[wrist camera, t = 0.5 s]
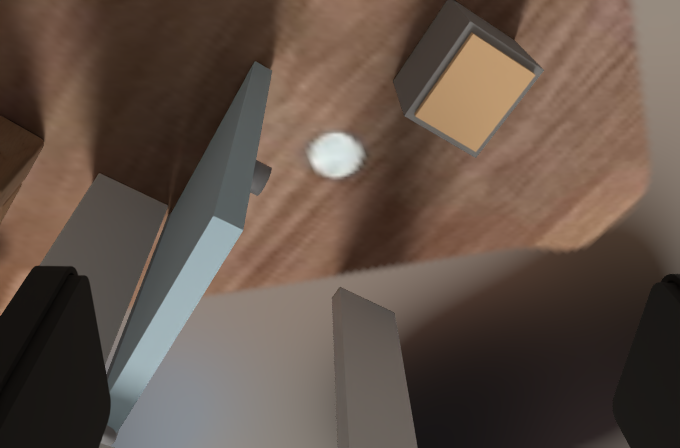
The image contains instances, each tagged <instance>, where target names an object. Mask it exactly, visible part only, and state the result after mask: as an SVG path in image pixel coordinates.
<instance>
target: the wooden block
mask: <svg viewBox="0 0 680 448" xmlns="http://www.w3.org/2000/svg"><path fill="white" fill-rule="evenodd" d="M43 145H44V141H43V140H42V139H41V138H40V137H38V136H36V135H34V134H32V133H31V132H29V131H27V130H25V129H24V128H22V127H20V126H18V125H17V124H15V123H13V122H11V121H10V120H8V119H6V118H4V117H2V116H1V115H0V223H1V221H2V220H3V218H4V216H5V214H6V212H7V211H8V209H9V207H10V205H11V203H12V202H13V200H14V198H15V196H16V194H17V193H18V191H19V189H20V187H21V185H22V182H23V181H24V179H25V178H26V177H27V175H28V173H29V171H30V169H31V168H32V166H33V164H34V162H35V160H36V159H37V157H38V155H39V153H40V151H41V150H42V148H43Z"/></svg>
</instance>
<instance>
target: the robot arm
mask: <svg viewBox="0 0 680 448" xmlns="http://www.w3.org/2000/svg"><path fill="white" fill-rule="evenodd" d="M110 409H111V398H110V392H109V386H108V381H107V375H106V370H105V364H104V359H103V353H102V348H101V342H100V336H99V331H98V325H97V320H96V314H95V309H94V303H93V298H92V292H91V286H90V282H89V279H88V277H87V276H85V275H78V272H77V270H76V269H75V268H74V267H73V266H35V267H34V268H33V269H32V270H31V271H30V273H29V274H28V276H27V277H26V279H25V280H24V282H23V283H22V285H21V286H20V288H19V289H18V291H17V292H16V294H15V295H14V297H13V298H12V300H11V301H10V303H9V304H8V306H7V307H6V309H5V310H4V312H3V313H2V315H1V316H0V448H99V446H100V443H101V440H102V437H103V434H104V432H105V429H106V426H107V423H108V420H109V416H110ZM613 413H614V417H615V420H616V422H617V424H618V425H619V427H620V429H621V431H622V433H623V435H624V437H625V438H626V440H627V442H628V444H629V446H630V447H631V448H680V274H669V275H666V276H665V277H664V278H663V279H662V281H661V282H660V283H656V284H655V285H654V286H653V287H652V289H651V291H650V294H649V297H648V300H647V303H646V306H645V308H644V312H643V314H642V317H641V320H640V323H639V326H638V329H637V331H636V334H635V337H634V340H633V343H632V346H631V349H630V352H629V354H628V357H627V360H626V363H625V366H624V369H623V372H622V375H621V377H620V380H619V384H618V386H617V389H616V392H615V395H614V398H613Z"/></svg>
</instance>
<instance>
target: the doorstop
mask: <svg viewBox="0 0 680 448" xmlns="http://www.w3.org/2000/svg"><path fill="white" fill-rule="evenodd" d="M543 71H544V70H543V69H542V68H541V67H540V66H539V65H538V64H537V63H536V62H535V61H534V60H533V59H532V58H531V57H530V56H529V55H528V54H527V53H526V52H525V51H524V49H523V48H522V47H521V46H520V45H519V44H518V43H517V42H516V41H515V40H513V39H512V38H510V37H509V36H507V35H506V34H504V33H503V32H501V31H500V30H498V29H497V28H495V27H494V26H492V25H491V24H489V23H488V22H486V21H485V20H483V19H482V18H480V17H479V16H477V15H476V14H474V13H473V12H471V11H470V10H468V9H467V8H465V7H464V6H462V5H461V4H459V3H458V2H456V1H455V0H447V1H446V3H445V4H444V6H443V7H442V9H441V10H440V12H439V13H438V15H437V16H436V18H435V19H434V21H433V22H432V24H431V25H430V27H429V28H428V30H427V31H426V33H425V34H424V36H423V37H422V39H421V40H420V42H419V43H418V45H417V46H416V48H415V49H414V51H413V52H412V54H411V55H410V57H409V58H408V60H407V61H406V63H405V64H404V66H403V67H402V68H401V70H400V71H399V73H398V74H397V76H396V77H395V79H394V80H393V83H394V86H395V89H396V92H397V95H398V98H399V101H400V105H401V108H402V111H403V114H404V116H405V117H407V118H408V119H410V120H412V121H413V122H415V123H417V124H419V125H420V126H422V127H424V128H425V129H427V130H429V131H431V132H432V133H434V134H436V135H437V136H439V137H441V138H443V139H444V140H446V141H448V142H449V143H451V144H453V145H454V146H456V147H458V148H460V149H461V150H463V151H465V152H466V153H468V154H470V155H472V156H473V157H475V158H476V157H477V156H478V154H479V153H480V152H481V150H482V149H483V148H484V147H485V145H486V144H487V143H488V142H489V140H490V139H491V138H492V136H493V135H494V134H495V133H496V131H497V130H498V129H499V127H500V126H501V125H502V124H503V122H504V121H505V120H506V118H507V117H508V116H509V115H510V113H511V112H512V111H513V109H514V108H515V107H516V106H517V104H518V103H519V102H520V100H521V99H522V98H523V97H524V95H525V94H526V93H527V91H528V90H529V89H530V88H531V86H532V85H533V84H534V82H535V81H536V80H537V79H538V77H539V76H540V75H541V73H542V72H543Z"/></svg>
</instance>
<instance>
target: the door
mask: <svg viewBox="0 0 680 448" xmlns="http://www.w3.org/2000/svg"><path fill="white" fill-rule="evenodd" d="M271 74H272V70H270V69H268V68H266V67H265V66H263V65H261V64H259V63H258V62H256V61H254V63H253V65H252V67H251V69H250V71H249V72H248V74H247V76H246V78H245V80H244V82H243V83H242V85H241V87H240V89H239V91H238V92H237V94H236V96H235V98H234V100H233V102H232V103H231V105H230V107H229V109H228V111H227V112H226V114H225V116H224V118H223V120H222V122H221V123H220V125H219V127H218V129H217V131H216V133H215V134H214V136H213V138H212V140H211V142H210V143H209V145H208V147H207V149H206V151H205V153H204V154H203V156H202V158H201V160H200V162H199V164H198V165H197V167H196V169H195V171H194V173H193V174H192V176H191V178H190V180H189V182H188V184H187V185H186V187H185V189H184V191H183V193H182V194H181V196H180V198H179V200H178V202H177V204H176V205H175V207H174V209H173V211H172V212H171V213H170V214H169V215H168V217H167V220H166V222H165V225H164V227H163V230H162V233H161V235H160V238H159V240H158V243H157V245H156V248H155V251H154V253H153V256H152V258H151V261H150V264H149V266H148V269H147V271H146V274H145V276H144V279H143V282H142V284H141V287H140V289H139V292H138V295H137V297H136V300H135V302H134V305H133V307H132V310H131V313H130V315H129V318H128V320H127V323H126V325H125V328H124V331H123V333H122V336H121V338H120V341H119V344H118V346H117V349H116V351H115V354H114V356H113V359H112V362H111V364H110V367H109V369H108V372H107V381H108V386H109V392H110V398H111V409H110V416H109V420H108V423H107V426H106V429H105V432H104V434H103V437H102V440H101V443H102V444H105V445H108V446H110V445H111V444H113V443H114V442H115V440H116V437H117V434H118V431H119V429H120V427H121V426H122V424H123V423H124V421H125V419H126V418H127V416H128V415H129V413H130V411H131V409H132V408H133V406H134V405H135V403H136V402H137V400H138V398H139V397H140V395H141V394H142V392H143V390H144V389H145V387H146V385H147V384H148V382H149V381H150V379H151V378H152V376H153V374H154V373H155V371H156V369H157V368H158V366H159V365H160V363H161V361H162V360H163V358H164V357H165V355H166V353H167V352H168V350H169V349H170V347H171V345H172V344H173V342H174V340H175V339H176V337H177V336H178V334H179V332H180V331H181V329H182V328H183V326H184V324H185V323H186V321H187V319H188V318H189V316H190V315H191V313H192V312H193V310H194V308H195V307H196V305H197V304H198V302H199V300H200V299H201V297H202V295H203V294H204V292H205V291H206V289H207V287H208V286H209V284H210V283H211V281H212V279H213V278H214V276H215V275H216V273H217V271H218V270H219V268H220V267H221V265H222V263H223V262H224V260H225V258H226V257H227V255H228V254H229V252H230V250H231V249H232V247H233V246H234V244H235V242H236V241H237V239H238V238H239V236H240V234H241V233H242V231H243V228H244V223H245V217H246V212H247V206H248V201H249V195H250V192H251V193H253V194H255V195H257V196H258V195H259V194H260V193H261V191H262V190H263V188H264V187H265V185H266V183H267V181H268V179H269V176H270V174H271V170H272V168H271V167H269V166H267V165H265V164H263V163H261V162H259V161H257V160H256V157H257V151H258V146H259V140H260V135H261V129H262V124H263V118H264V113H265V107H266V102H267V96H268V91H269V85H270V80H271Z"/></svg>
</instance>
